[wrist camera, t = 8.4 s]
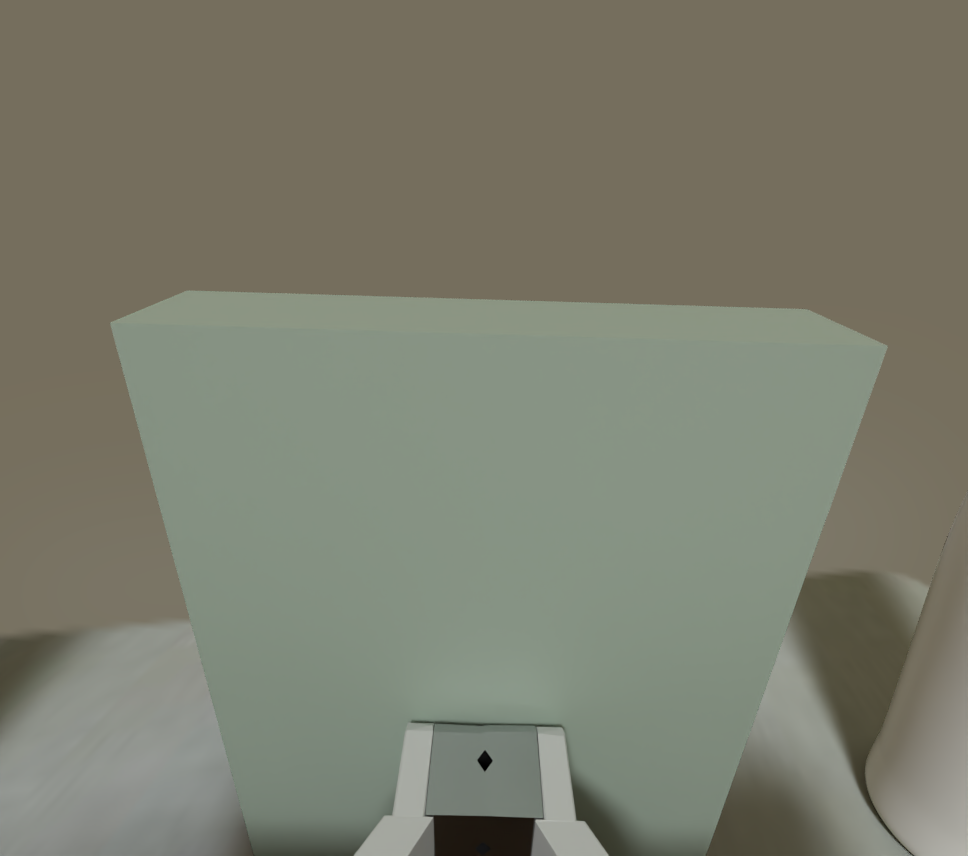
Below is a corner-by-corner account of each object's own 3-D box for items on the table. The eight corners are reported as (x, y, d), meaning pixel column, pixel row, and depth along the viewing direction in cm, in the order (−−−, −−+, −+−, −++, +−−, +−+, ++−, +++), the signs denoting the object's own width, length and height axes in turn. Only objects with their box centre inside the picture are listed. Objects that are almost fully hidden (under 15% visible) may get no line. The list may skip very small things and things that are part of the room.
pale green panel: (263, 892, 13) (110, 322, 7) (291, 802, 15) (187, 290, 9) (688, 904, 13) (887, 346, 7) (664, 813, 15) (807, 309, 9)
